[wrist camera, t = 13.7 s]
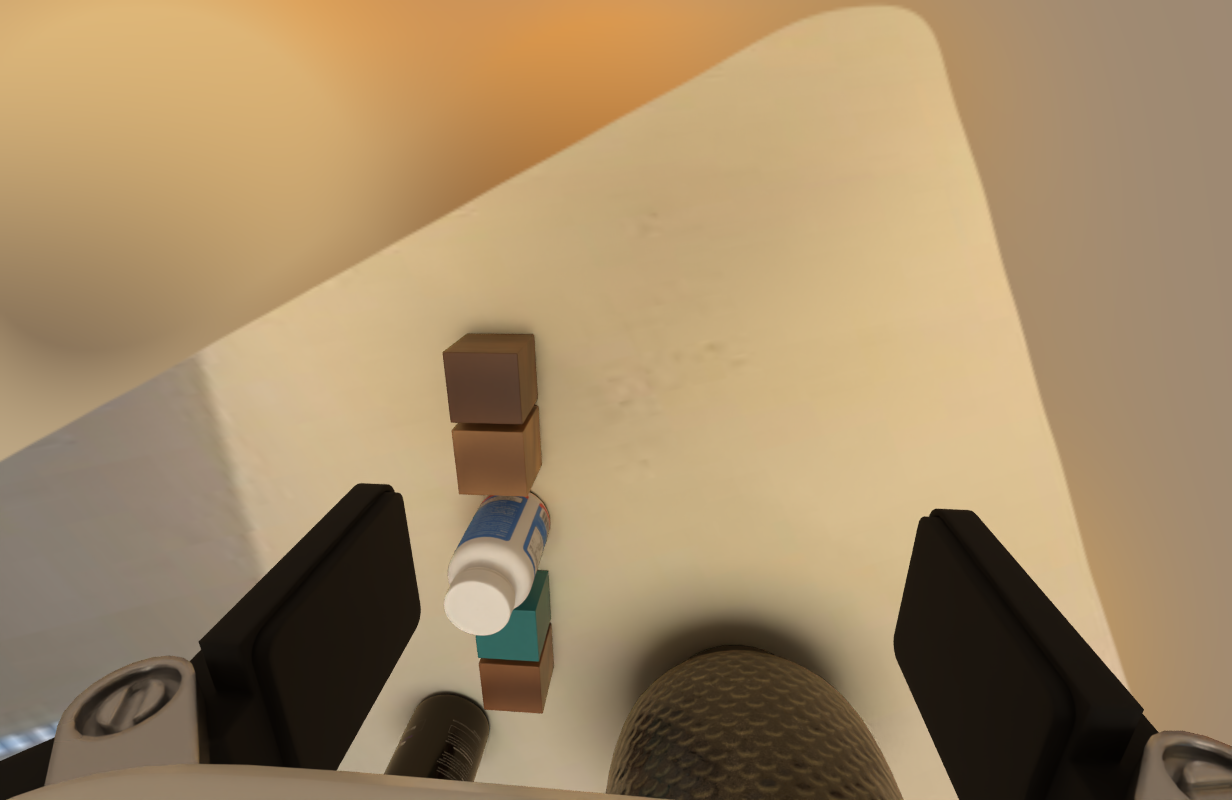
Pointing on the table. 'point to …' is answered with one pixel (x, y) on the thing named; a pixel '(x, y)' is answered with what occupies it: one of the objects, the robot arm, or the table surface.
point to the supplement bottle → (442, 740)
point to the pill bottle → (496, 562)
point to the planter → (747, 735)
